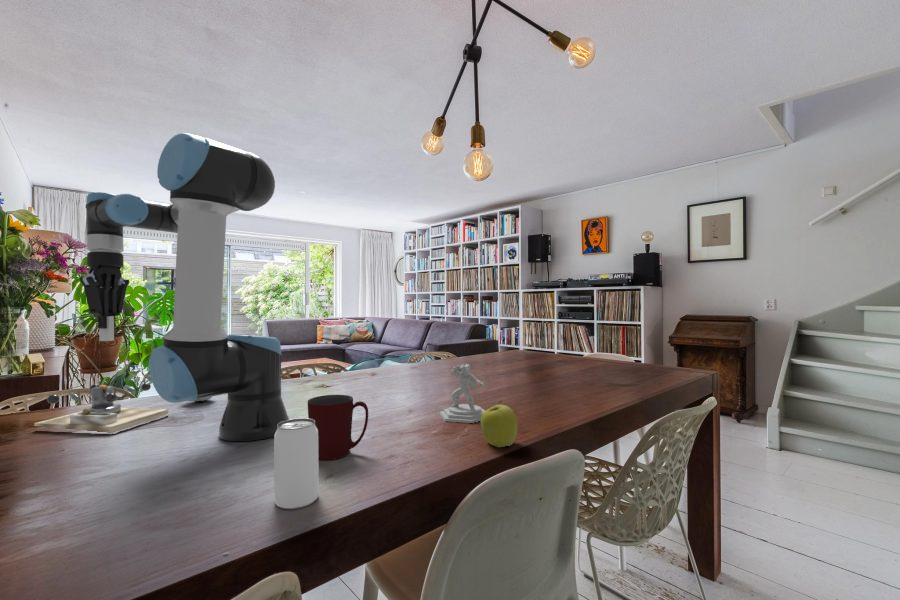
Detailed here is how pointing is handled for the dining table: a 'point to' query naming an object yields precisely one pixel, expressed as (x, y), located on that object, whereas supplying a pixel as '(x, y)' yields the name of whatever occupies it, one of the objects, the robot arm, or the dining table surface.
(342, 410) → the mug
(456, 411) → the figurine
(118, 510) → the dining table surface
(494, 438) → the apple
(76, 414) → the stand
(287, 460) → the can
